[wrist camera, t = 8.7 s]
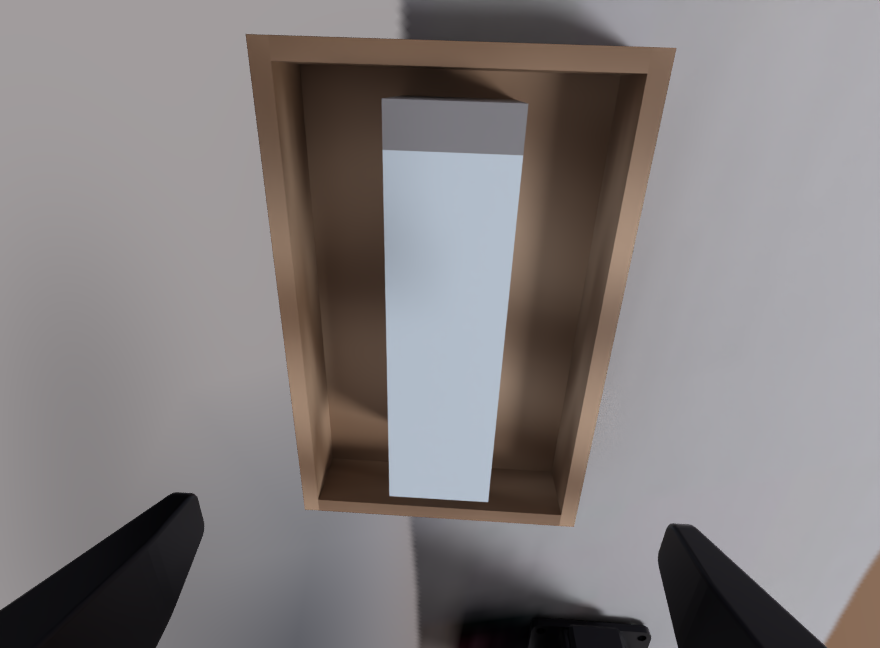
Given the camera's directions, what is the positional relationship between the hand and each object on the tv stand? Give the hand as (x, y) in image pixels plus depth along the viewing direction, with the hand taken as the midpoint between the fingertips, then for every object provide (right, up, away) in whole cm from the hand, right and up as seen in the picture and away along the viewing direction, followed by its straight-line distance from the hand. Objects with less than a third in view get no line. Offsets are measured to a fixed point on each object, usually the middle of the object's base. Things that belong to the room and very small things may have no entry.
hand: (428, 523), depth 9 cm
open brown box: (+1, +5, +10) cm, 11 cm away
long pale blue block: (+1, +5, +9) cm, 10 cm away
